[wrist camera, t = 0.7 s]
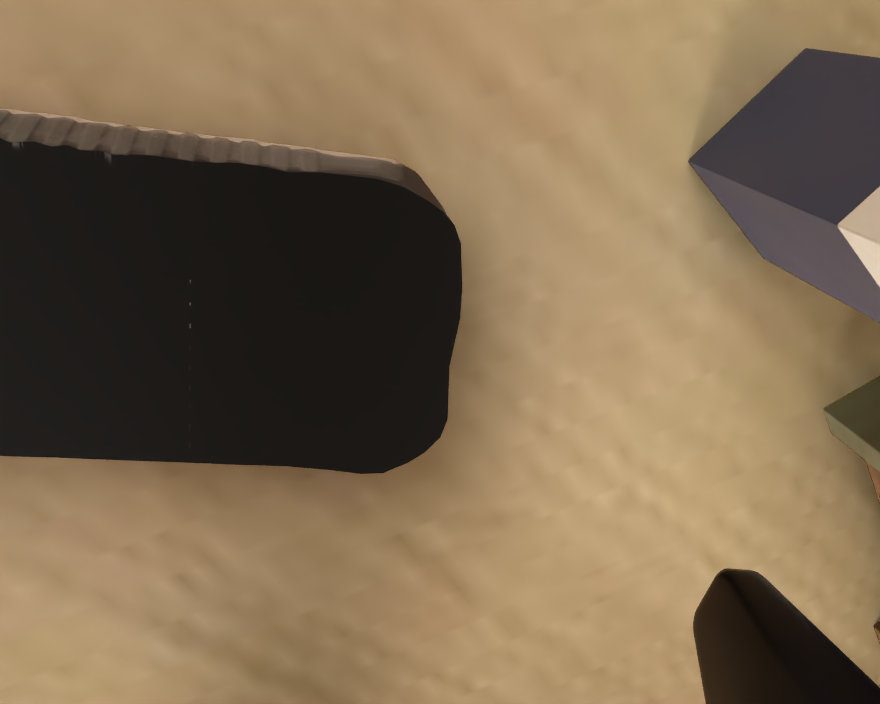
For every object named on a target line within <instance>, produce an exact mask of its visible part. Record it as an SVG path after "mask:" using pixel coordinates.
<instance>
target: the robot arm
mask: <svg viewBox="0 0 880 704" xmlns="http://www.w3.org/2000/svg"><path fill="white" fill-rule="evenodd" d="M693 631H694V638H695V643H696V649H697V655H698V661H699V667H700V672H701V678H702V684H703V690H704V696H705V701H706V704H880V688H879V687H878V686H877V685H876V684H875V683H874V682H873V681H872V680H871V679H870V678H869V677H868V676H867V675H866V674H865V673H864V672H863V671H862V670H861V669H860V668H859V667H858V666H857V665H855V664H854V663H853V662H852V661H851V660H850V659H849V658H848V657H847V656H846V655H845V654H844V653H843V652H842V651H841V650H840V649H839V648H838V647H837V646H836V645H835V644H834V643H832V642H831V641H830V640H829V639H828V638H827V637H826V636H825V635H824V634H823V633H822V632H821V631H820V630H819V629H818V628H817V627H816V626H815V625H814V624H813V623H812V622H811V621H809V620H808V619H807V618H806V617H805V616H804V615H803V614H802V613H801V612H800V611H799V610H798V609H797V608H796V607H795V606H794V605H793V604H792V603H791V602H790V601H789V600H788V599H786V598H785V597H784V596H783V595H782V594H781V593H780V592H779V591H778V590H777V589H776V588H775V587H774V586H773V585H772V584H771V583H770V582H769V581H768V580H767V579H766V578H764V577H763V576H762V575H761V574H759V573H758V572H755V571H752V570H741V569H729V568H728V569H723V570H722V571H720V572H719V573H718V574H717V575H716V577H715V578H714V580H713V582H712V584H711V585H710V587H709V589H708V591H707V592H706V594H705V596H704V597H703V599H702V601H701V603H700V604H699V606H698V608H697V610H696V612H695V616H694V622H693Z"/></svg>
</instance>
